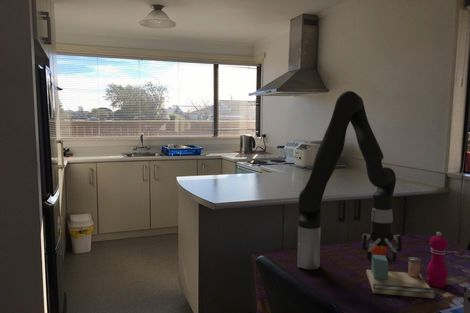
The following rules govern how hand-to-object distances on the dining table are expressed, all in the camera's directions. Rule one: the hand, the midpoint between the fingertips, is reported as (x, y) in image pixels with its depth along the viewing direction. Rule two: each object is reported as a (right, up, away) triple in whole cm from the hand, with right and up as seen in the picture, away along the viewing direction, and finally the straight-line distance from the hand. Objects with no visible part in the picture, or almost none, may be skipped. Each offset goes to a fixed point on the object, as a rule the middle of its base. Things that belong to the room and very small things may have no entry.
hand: (381, 260), depth 146 cm
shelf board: (+4, -8, -4) cm, 10 cm away
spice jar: (+13, -6, 0) cm, 14 cm away
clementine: (+8, -6, +25) cm, 27 cm away
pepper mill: (+20, -8, -3) cm, 21 cm away
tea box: (-1, -6, 0) cm, 6 cm away
